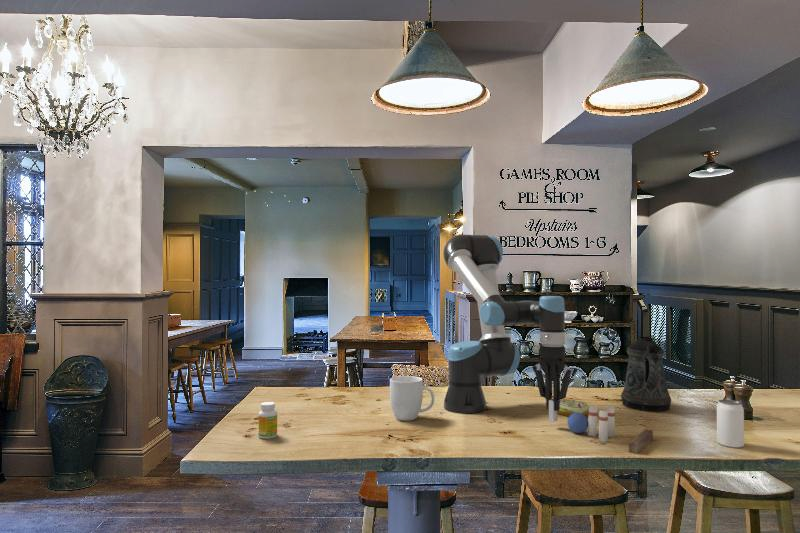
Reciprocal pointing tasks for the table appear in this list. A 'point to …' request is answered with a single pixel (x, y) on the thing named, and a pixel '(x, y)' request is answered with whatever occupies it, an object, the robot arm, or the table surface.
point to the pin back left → (611, 421)
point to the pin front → (592, 420)
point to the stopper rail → (640, 441)
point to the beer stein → (645, 378)
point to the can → (730, 423)
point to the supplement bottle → (267, 421)
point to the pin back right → (603, 426)
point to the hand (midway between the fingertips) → (553, 420)
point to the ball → (577, 422)
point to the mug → (408, 397)
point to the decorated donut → (573, 407)
